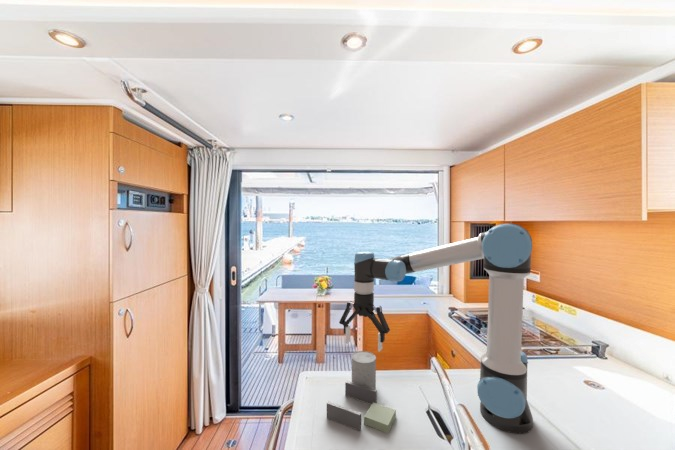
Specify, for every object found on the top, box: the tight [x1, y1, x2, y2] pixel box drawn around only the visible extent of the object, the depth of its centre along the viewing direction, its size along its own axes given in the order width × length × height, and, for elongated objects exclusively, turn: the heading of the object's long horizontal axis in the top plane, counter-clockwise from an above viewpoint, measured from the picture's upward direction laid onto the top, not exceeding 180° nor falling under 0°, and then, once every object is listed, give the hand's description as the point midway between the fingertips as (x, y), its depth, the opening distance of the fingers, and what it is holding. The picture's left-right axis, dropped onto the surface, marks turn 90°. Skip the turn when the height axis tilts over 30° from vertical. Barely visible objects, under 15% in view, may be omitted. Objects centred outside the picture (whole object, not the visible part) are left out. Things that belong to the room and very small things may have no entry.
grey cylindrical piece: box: [351, 350, 377, 390], centre depth 111 cm, size 10×10×12 cm
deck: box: [363, 402, 397, 434], centre depth 93 cm, size 8×8×2 cm
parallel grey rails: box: [326, 380, 378, 432], centre depth 98 cm, size 12×15×5 cm
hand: (363, 346), depth 110 cm, fingers open, 13 cm apart
